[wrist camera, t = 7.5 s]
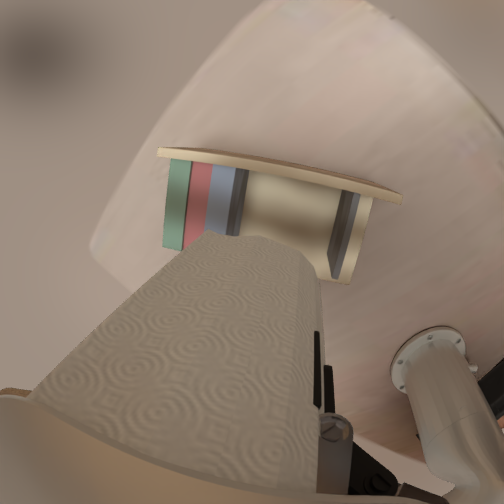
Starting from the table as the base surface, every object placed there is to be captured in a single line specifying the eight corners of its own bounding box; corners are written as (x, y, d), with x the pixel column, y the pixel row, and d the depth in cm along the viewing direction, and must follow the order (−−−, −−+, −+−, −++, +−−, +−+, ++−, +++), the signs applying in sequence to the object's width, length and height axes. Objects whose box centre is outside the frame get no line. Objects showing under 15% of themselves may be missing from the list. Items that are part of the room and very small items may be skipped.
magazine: (419, 475, 34) (570, 406, 16) (411, 472, 34) (569, 400, 15) (423, 402, 47) (545, 329, 29) (416, 397, 47) (542, 320, 29)
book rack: (200, 147, 32) (158, 147, 22) (373, 182, 30) (403, 195, 20) (188, 245, 36) (148, 278, 27) (347, 279, 34) (361, 327, 24)
